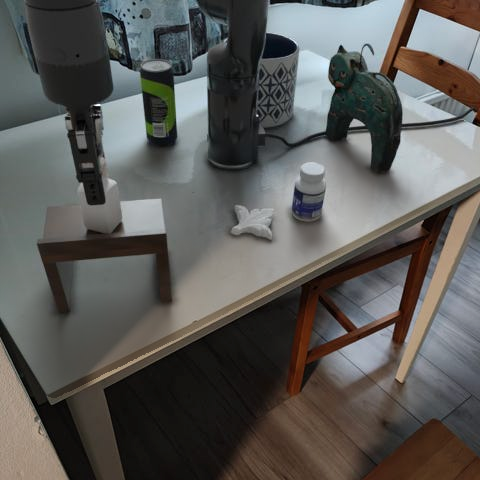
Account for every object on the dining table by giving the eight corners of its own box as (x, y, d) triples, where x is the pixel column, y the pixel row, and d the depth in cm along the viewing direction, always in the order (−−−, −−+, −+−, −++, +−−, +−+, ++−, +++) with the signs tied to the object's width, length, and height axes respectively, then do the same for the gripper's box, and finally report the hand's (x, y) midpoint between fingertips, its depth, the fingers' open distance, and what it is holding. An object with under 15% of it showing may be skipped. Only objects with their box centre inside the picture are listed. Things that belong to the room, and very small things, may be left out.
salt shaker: (124, 219, 72) (114, 156, 65) (110, 236, 69) (98, 172, 62) (98, 213, 73) (86, 150, 66) (83, 230, 70) (69, 166, 63)
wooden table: (166, 253, 83) (160, 186, 74) (172, 301, 76) (166, 233, 67) (62, 262, 81) (43, 194, 72) (58, 312, 73) (36, 243, 65)
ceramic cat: (316, 133, 112) (330, 31, 98) (340, 126, 114) (358, 27, 100) (374, 178, 100) (401, 70, 86) (400, 170, 103) (430, 64, 88)
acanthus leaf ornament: (234, 211, 92) (234, 201, 90) (273, 214, 91) (274, 204, 90) (230, 236, 86) (230, 227, 85) (272, 240, 86) (273, 230, 85)
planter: (207, 113, 117) (206, 44, 106) (253, 91, 125) (256, 26, 115) (262, 137, 110) (266, 66, 100) (306, 113, 118) (315, 45, 108)
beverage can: (183, 139, 108) (180, 64, 97) (162, 151, 105) (155, 74, 94) (162, 130, 111) (156, 55, 100) (140, 140, 108) (132, 64, 97)
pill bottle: (289, 205, 93) (294, 160, 87) (318, 204, 94) (325, 159, 87) (293, 223, 90) (299, 177, 83) (323, 222, 90) (332, 176, 84)
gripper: (108, 74, 50) (129, 215, 62) (107, 24, 60) (125, 154, 72) (26, 77, 49) (63, 220, 61) (39, 25, 59) (69, 157, 70)
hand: (97, 184), depth 66 cm, fingers open, 8 cm apart
